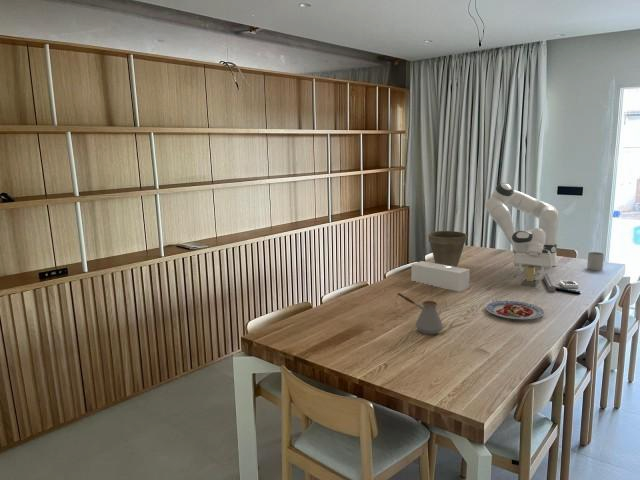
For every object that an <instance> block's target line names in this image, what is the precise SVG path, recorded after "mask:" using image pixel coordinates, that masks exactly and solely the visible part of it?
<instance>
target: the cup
mask: <svg viewBox="0 0 640 480" xmlns="http://www.w3.org/2000/svg"><path fill="white" fill-rule="evenodd" d="M604 256H605V253H602V252H597V251H596V252H595V251H594V252H593V251H589V252H588V255H587V263H586V264H587V265H586V269H588V270H589V269H590V270H591V271H597V272H599V271H603V269H604V268H603V267H604Z"/></svg>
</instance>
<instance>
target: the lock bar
mask: <svg viewBox="0 0 640 480" xmlns="http://www.w3.org/2000/svg"><path fill="white" fill-rule="evenodd" d="M525 269H526V270H525V271H526V272H525V278H526V282H534V279H535V280H536V277H535V276H536V268H535V267H534V266H527V267H525Z"/></svg>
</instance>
